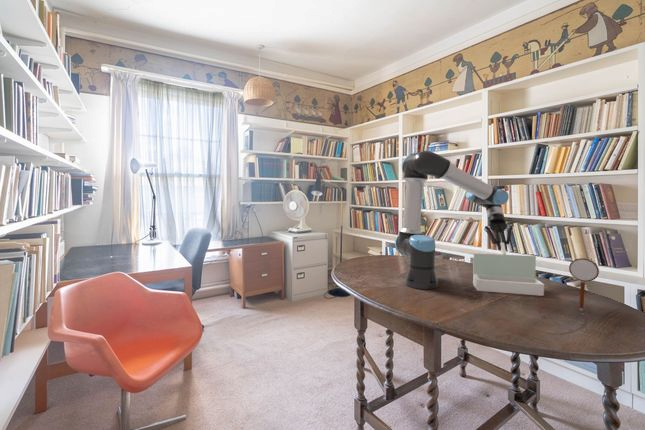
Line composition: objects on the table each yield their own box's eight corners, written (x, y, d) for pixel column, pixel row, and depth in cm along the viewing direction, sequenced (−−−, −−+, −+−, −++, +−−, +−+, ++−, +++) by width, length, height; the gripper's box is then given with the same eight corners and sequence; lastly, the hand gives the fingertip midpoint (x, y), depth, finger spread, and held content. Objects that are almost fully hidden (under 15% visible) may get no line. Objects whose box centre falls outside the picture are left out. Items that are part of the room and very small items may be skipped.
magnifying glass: (596, 313, 114) (600, 260, 113) (595, 314, 113) (599, 260, 112) (567, 306, 121) (570, 256, 119) (566, 307, 120) (569, 256, 118)
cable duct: (477, 290, 141) (477, 279, 140) (473, 284, 150) (473, 274, 150) (543, 295, 133) (544, 284, 133) (534, 288, 143) (535, 278, 142)
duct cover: (473, 253, 150) (473, 253, 151) (473, 274, 150) (472, 273, 151) (535, 256, 143) (534, 255, 144) (535, 278, 143) (534, 277, 144)
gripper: (508, 222, 163) (517, 260, 149) (480, 221, 167) (487, 258, 152) (511, 212, 158) (521, 251, 143) (483, 212, 161) (490, 250, 147)
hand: (503, 255), depth 148 cm, fingers closed
